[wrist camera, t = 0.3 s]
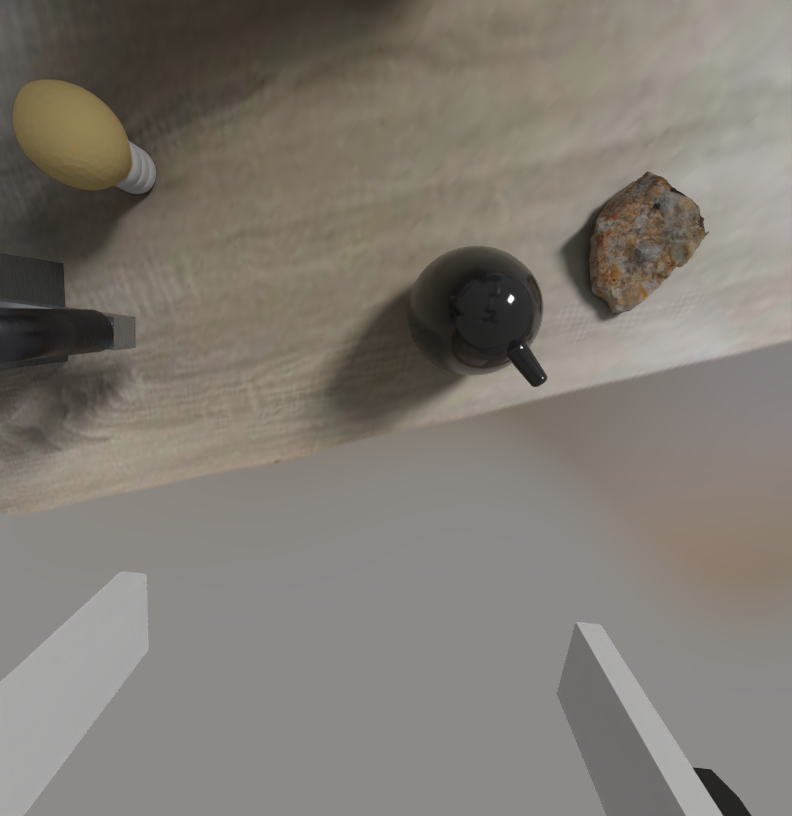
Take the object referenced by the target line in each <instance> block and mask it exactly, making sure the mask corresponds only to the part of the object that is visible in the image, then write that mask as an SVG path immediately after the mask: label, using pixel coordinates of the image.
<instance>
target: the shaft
mask: <svg viewBox="0 0 792 816" xmlns="http://www.w3.org/2000/svg"><path fill="white" fill-rule="evenodd" d="M130 348H136V330H135V317H132V316H125V315H118V314H111V313H104V312H98V311H96V310H88V309H75V308H68V307H61V306H54V305H47V304H40V303H32V302H25V301H18V300H11V299H4V298H0V363H7V362H16V361H24V360H33V359H41V358H50V357H58V356H67V355H75V354H84V353H92V352H100V351H104V350H106V349H108V350H122V349H130Z"/></svg>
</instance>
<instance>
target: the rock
mask: <svg viewBox="0 0 792 816" xmlns="http://www.w3.org/2000/svg"><path fill="white" fill-rule="evenodd" d="M703 221H704V218H703V217H701V216H700V210H699V207H698V206H697V205H696V204H695V203H694V202H693V201H692V200H691V199H690V198H688V197H687V196H685V195H684V194H682V193H681V192H679V191H677V190H676V189H675V188H673V187H672V186H671V185H670V184H669V183H668V182H667V180H665V179H664V178H663V177H661V176H657V175H655V174H653V173H651V172H649V171H648V172H646V173H645V174H644V175H643V176H642V177H641V178H639V179H638V180H637V181H635V182H632V183H631V184H629V185H628V186H627V187H626V188H624V189H623V190H622V191H619V192H618V193H617V194H615V195H614V196H613V197H612V198H611V199H610V200H609V201H608V203H607V204H606V205H605V207H604V208H603V210H602V211H601V212H600V214H599V216H598V218H597V220H596V226H595V229H594V234H593V235H592V237H591V239H590V242H591V253H590V256H589V262H590V280H591V289H592V292H593V293H594V294H595V295H596V296H599V297H601V298H602V299H603V300H605V301H606V302H607V303H608V305H609V307H610V308H611V311H612V312H613V313H622V312H625V311H630V310H632V309H633V308H634V307H635V306H636V305H638V304H640V303H641V302H642V301H643V300H645V299H646V298H647V297H648V296H649V295H650V294H652V293H653V292H654V291H655V290H656V289H658V288H659V287H660V285H661V283H662V282H663V281H664V280H665V279H667V278H668V277H669V276H670V274H671V272H672V271H673V270H674V269H675V268H676V266H677V267H681V266H683V265H684V264H686V263H687V261H688V260H689V259H690V258H691V257H692V256H693V254H694V252H695V250H696V249H697V248H698V247H699V245H700V243H701V241H702V240H703V239H704V237H705V236H706V235H707V234H708V233H709V231H708V232H707V233H705V229H704V226H703V225H704V223H703Z"/></svg>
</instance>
